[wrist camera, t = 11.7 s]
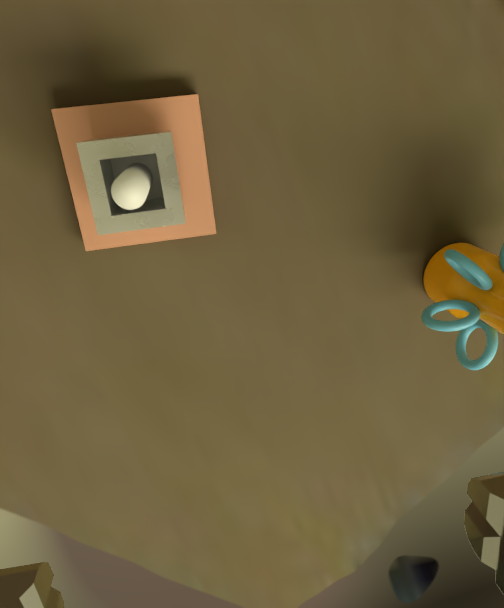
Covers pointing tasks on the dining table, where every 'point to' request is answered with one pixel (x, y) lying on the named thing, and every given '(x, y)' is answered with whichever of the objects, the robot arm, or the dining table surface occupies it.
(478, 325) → the orange vase with loops
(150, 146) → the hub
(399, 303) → the dining table surface
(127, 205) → the shaft block
